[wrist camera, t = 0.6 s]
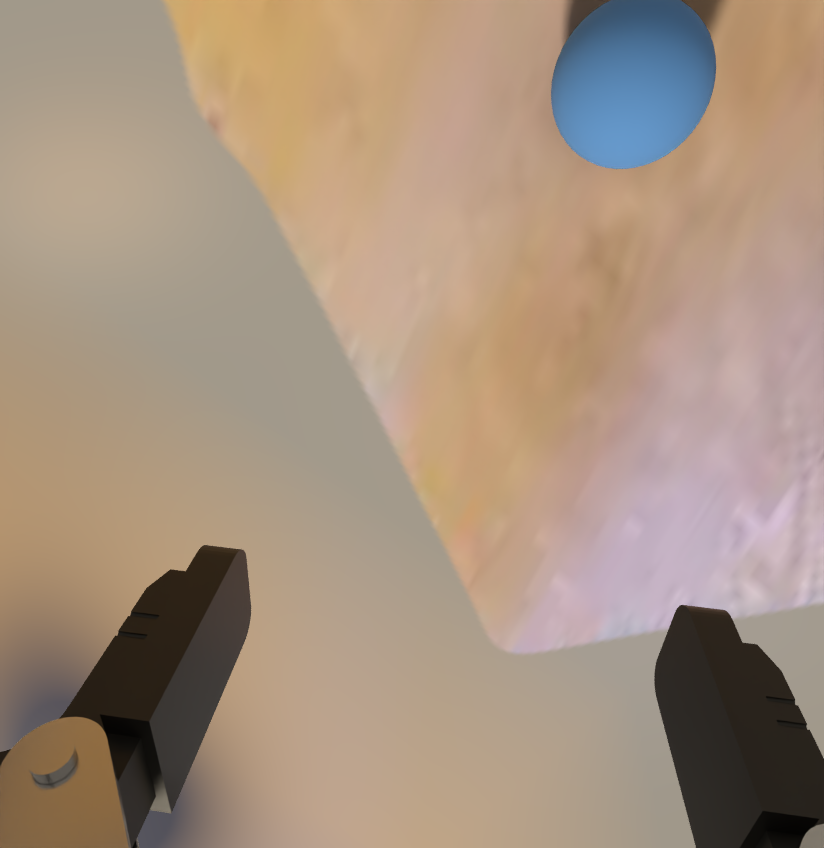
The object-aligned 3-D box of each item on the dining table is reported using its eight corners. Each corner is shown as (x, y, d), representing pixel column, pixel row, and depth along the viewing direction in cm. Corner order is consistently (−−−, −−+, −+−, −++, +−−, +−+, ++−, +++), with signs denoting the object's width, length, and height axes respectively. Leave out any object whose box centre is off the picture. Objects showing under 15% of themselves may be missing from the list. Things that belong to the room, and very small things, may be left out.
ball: (557, -6, 25) (574, -19, 20) (708, 0, 25) (764, -12, 20) (536, 153, 29) (546, 176, 23) (670, 160, 28) (710, 185, 23)
